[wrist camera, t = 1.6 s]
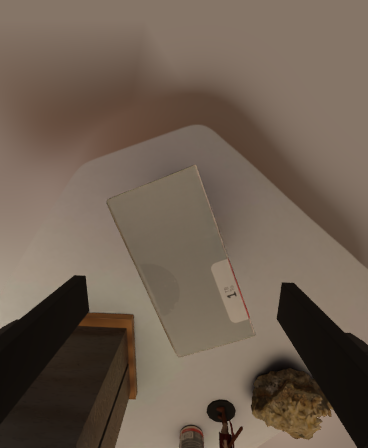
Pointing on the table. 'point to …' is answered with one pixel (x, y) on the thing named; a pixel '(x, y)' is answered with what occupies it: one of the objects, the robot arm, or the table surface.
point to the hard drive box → (182, 262)
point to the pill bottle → (191, 438)
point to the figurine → (223, 421)
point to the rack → (79, 390)
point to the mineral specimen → (290, 402)
